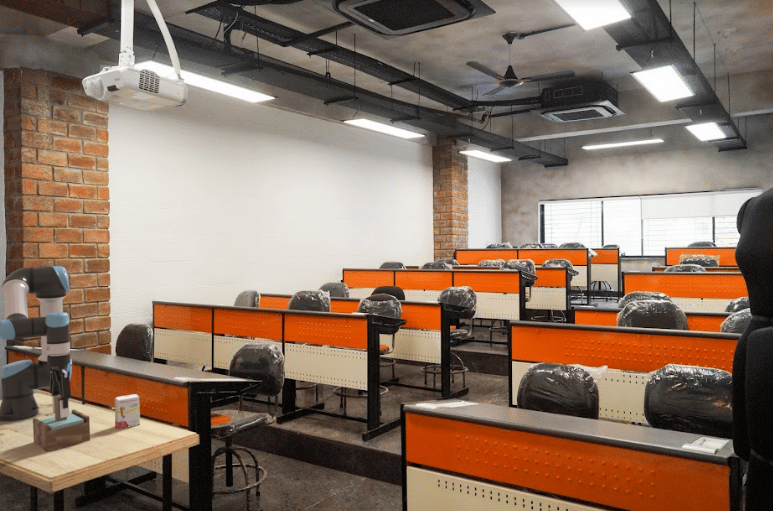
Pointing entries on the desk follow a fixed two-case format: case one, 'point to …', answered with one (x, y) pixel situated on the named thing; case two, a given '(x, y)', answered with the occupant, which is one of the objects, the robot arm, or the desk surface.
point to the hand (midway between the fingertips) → (61, 414)
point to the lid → (61, 422)
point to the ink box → (127, 411)
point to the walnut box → (61, 433)
